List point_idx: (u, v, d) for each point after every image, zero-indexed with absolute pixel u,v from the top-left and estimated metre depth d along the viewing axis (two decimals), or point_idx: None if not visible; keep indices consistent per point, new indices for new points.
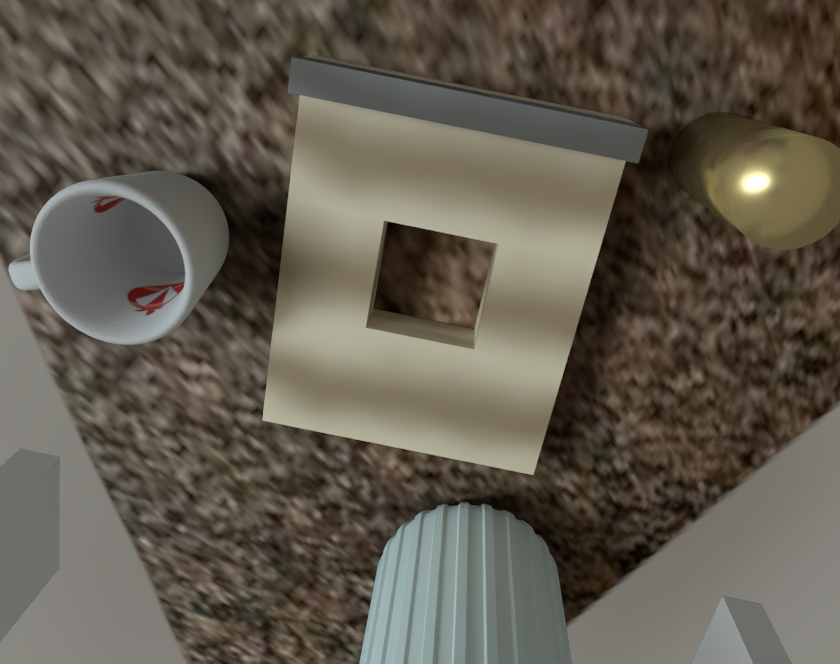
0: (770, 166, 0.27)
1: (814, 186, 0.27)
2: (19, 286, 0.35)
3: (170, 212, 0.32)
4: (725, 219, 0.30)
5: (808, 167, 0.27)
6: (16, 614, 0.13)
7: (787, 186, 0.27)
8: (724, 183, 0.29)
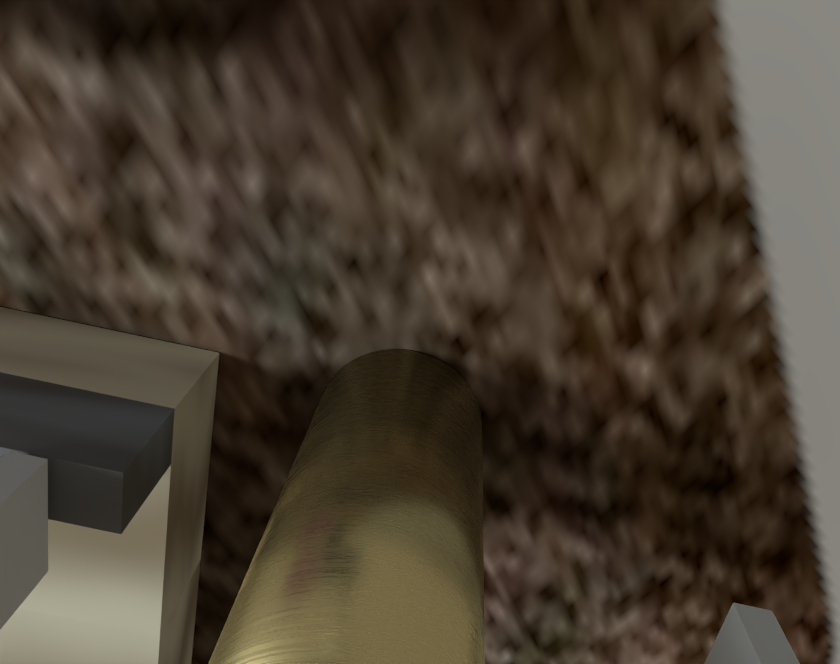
0: None
1: None
2: None
3: None
4: None
5: None
6: (3, 618, 0.13)
7: None
8: None
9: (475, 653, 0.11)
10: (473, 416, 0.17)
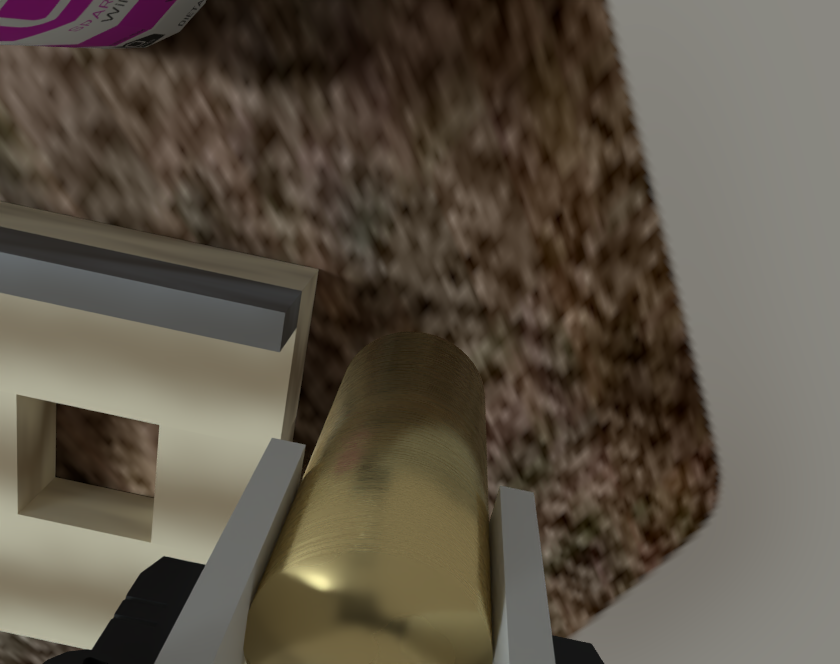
0: (303, 604, 0.12)
1: (406, 643, 0.12)
2: None
3: None
4: None
5: (387, 609, 0.12)
6: None
7: (350, 640, 0.12)
8: None
9: (483, 556, 0.14)
10: (478, 388, 0.20)
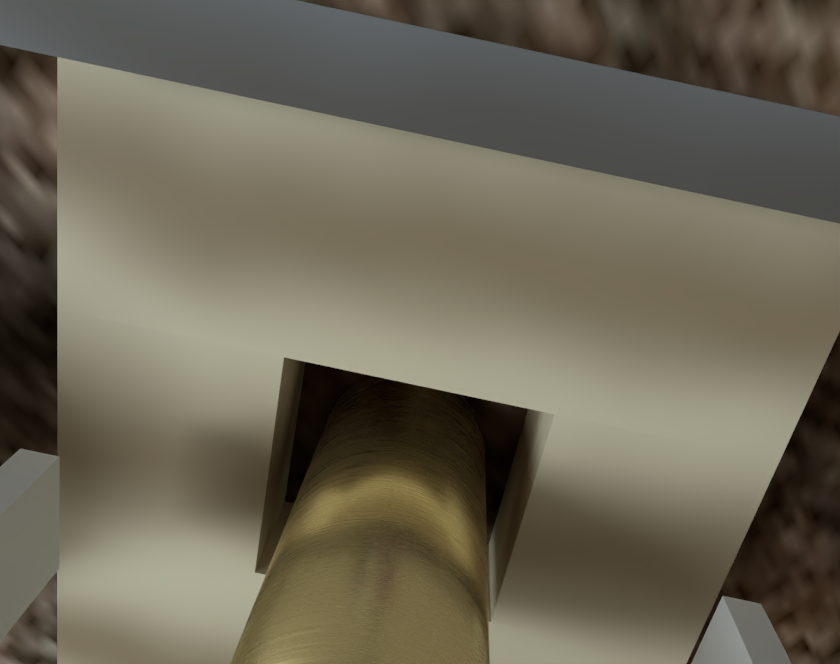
0: None
1: None
2: None
3: None
4: None
5: None
6: (16, 614, 0.13)
7: None
8: None
9: None
10: (476, 437, 0.18)
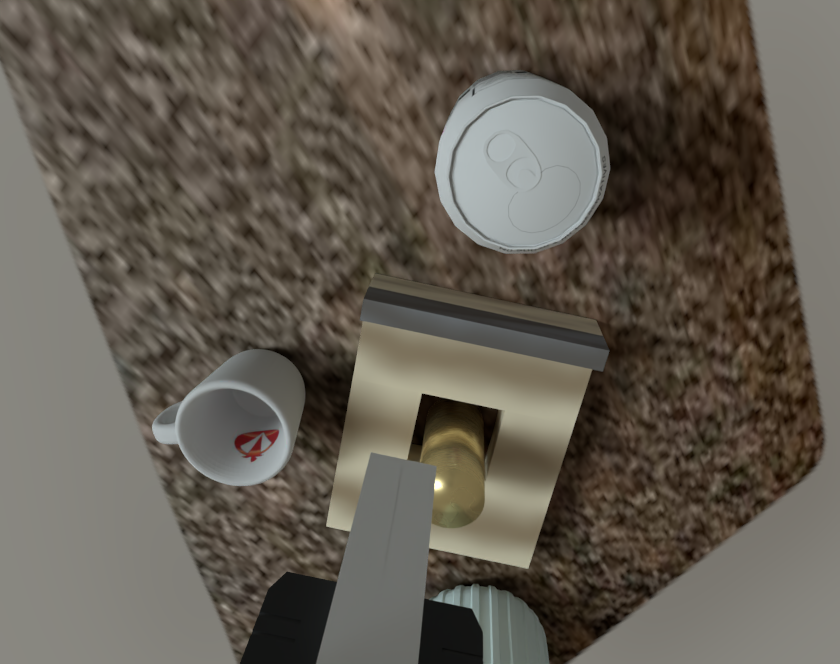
0: None
1: (461, 495, 0.45)
2: (160, 441, 0.49)
3: (276, 401, 0.46)
4: None
5: (456, 485, 0.45)
6: None
7: (445, 495, 0.45)
8: None
9: (482, 474, 0.46)
10: (480, 419, 0.53)
